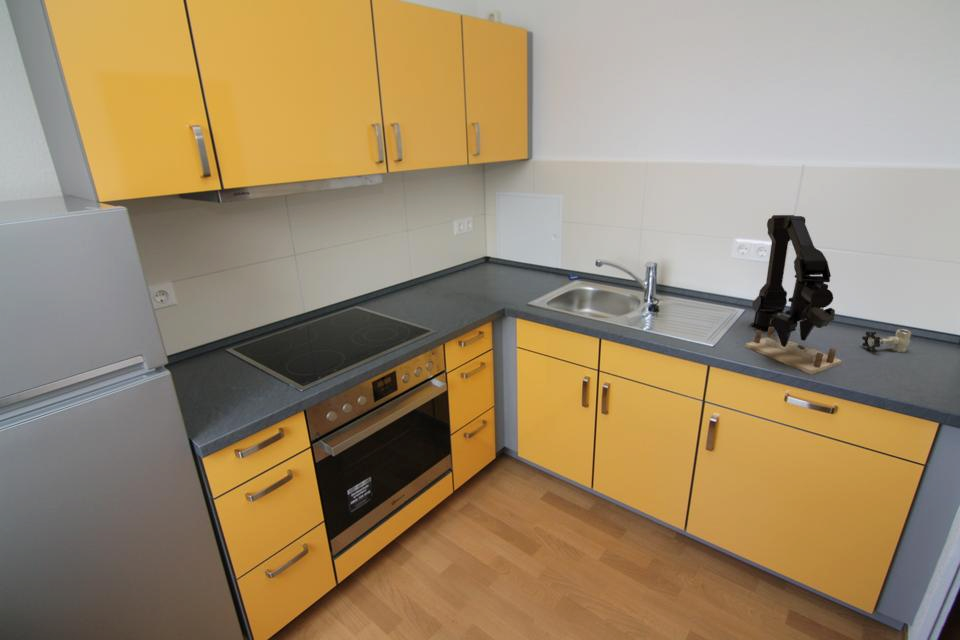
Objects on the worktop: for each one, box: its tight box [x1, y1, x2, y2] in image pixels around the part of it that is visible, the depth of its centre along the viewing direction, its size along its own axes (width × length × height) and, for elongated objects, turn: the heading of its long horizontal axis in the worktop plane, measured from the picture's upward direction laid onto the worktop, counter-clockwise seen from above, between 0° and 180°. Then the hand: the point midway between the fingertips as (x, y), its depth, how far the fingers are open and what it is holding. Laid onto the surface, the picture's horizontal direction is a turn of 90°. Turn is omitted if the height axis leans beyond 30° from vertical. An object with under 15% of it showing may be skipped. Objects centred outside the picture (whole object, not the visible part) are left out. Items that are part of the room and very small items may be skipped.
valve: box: [861, 328, 912, 353], centre depth 157 cm, size 7×7×12 cm
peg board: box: [744, 327, 843, 375], centre depth 157 cm, size 22×14×5 cm, turn 26°
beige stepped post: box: [765, 334, 823, 363], centre depth 157 cm, size 16×4×2 cm, turn 26°
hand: (793, 343), depth 156 cm, fingers open, 9 cm apart
